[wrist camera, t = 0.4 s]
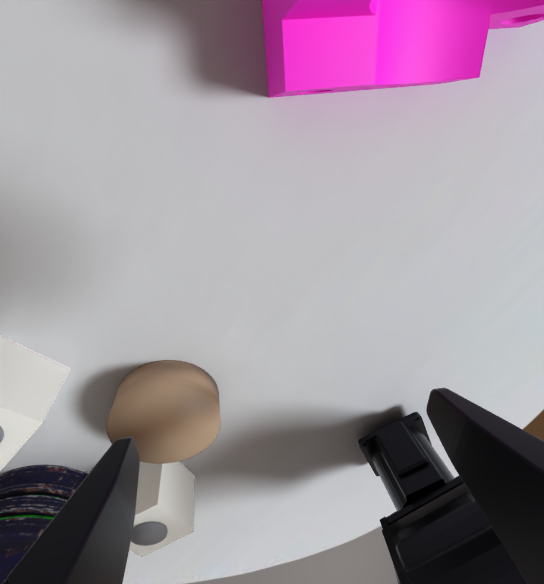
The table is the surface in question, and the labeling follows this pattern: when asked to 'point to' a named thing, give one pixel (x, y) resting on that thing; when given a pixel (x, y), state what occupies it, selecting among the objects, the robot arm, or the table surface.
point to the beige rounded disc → (166, 411)
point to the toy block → (381, 41)
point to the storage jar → (31, 507)
